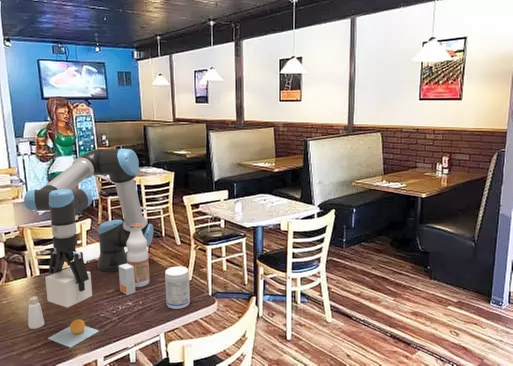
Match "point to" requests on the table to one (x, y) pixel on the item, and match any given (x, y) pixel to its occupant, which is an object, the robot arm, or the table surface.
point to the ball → (77, 326)
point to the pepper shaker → (35, 314)
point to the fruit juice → (138, 255)
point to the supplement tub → (177, 287)
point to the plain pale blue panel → (72, 336)
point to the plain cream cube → (65, 288)
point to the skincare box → (127, 279)
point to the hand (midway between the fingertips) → (70, 296)
